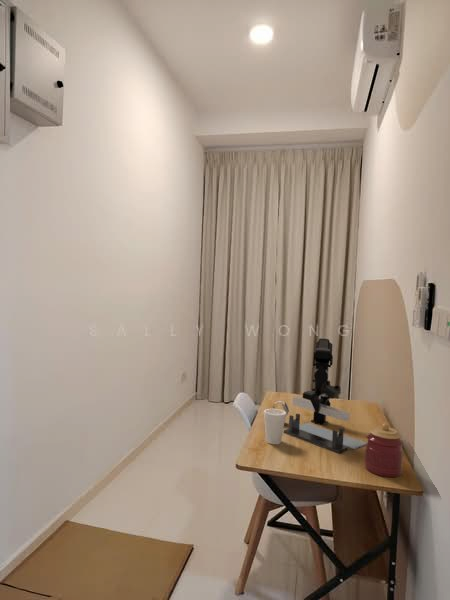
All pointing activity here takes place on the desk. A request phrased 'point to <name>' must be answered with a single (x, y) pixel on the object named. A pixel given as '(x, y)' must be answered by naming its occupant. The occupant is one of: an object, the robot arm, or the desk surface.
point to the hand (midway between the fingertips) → (319, 412)
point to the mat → (331, 435)
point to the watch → (283, 406)
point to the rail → (322, 409)
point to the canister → (384, 451)
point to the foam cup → (274, 425)
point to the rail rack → (333, 445)
